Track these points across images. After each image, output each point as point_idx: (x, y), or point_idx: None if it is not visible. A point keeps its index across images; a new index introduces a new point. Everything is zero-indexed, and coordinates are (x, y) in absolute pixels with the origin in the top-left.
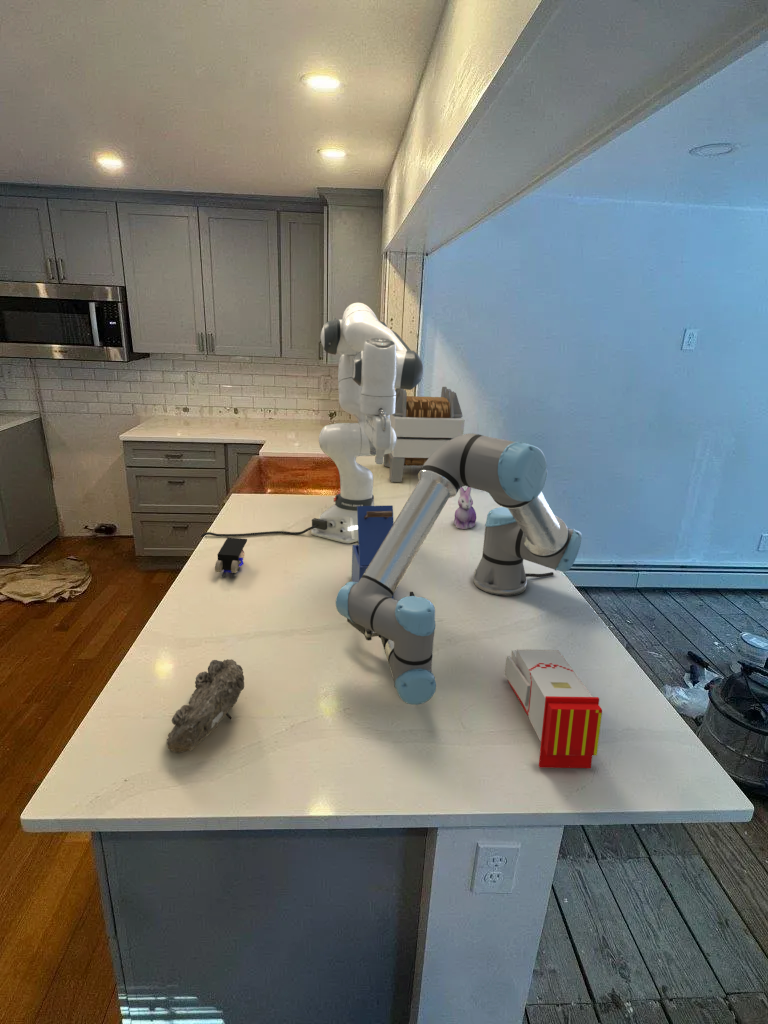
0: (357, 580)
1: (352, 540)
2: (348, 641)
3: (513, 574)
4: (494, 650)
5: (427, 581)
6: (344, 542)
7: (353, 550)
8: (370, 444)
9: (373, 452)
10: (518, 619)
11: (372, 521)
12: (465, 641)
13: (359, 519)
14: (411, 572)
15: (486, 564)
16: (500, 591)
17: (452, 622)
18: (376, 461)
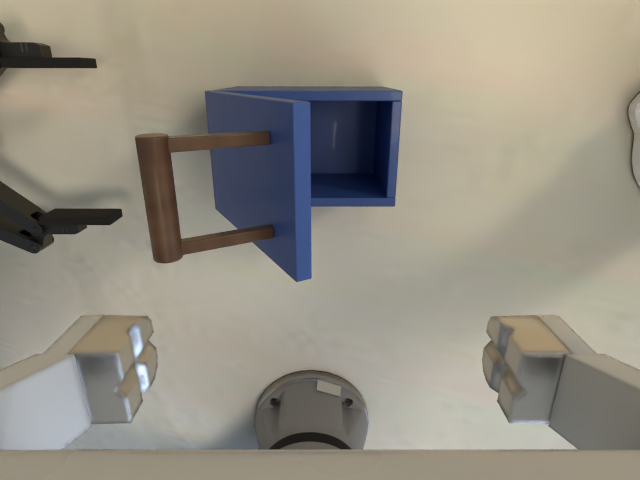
0: (258, 88)
1: (636, 123)
2: (51, 34)
3: None
4: (51, 328)
5: (340, 279)
6: (638, 95)
7: (369, 90)
8: (611, 389)
9: (503, 356)
10: (165, 401)
11: (262, 167)
12: (77, 288)
13: (264, 106)
14: (394, 253)
15: (293, 425)
16: (257, 407)
17: (149, 284)
18: (74, 328)
